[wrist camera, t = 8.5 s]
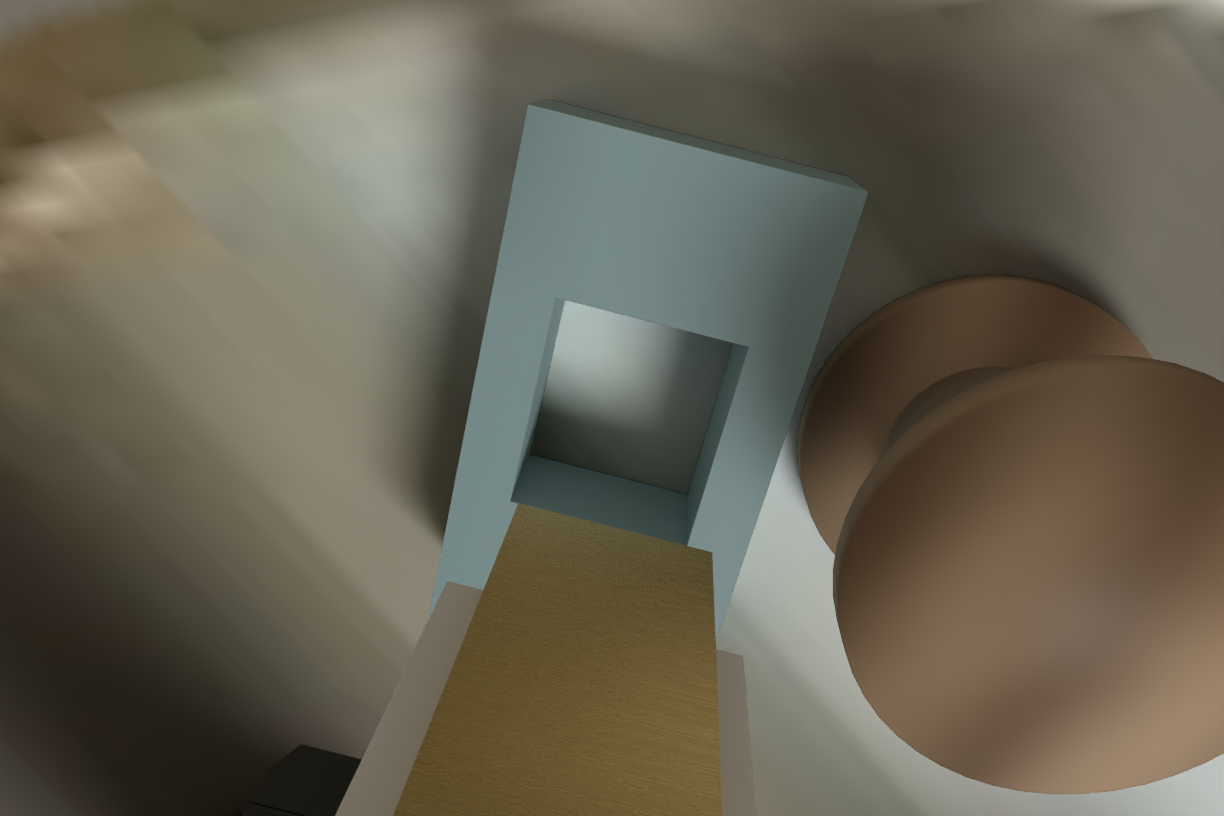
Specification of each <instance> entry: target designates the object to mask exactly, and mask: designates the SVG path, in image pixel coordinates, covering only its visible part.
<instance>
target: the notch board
mask: <svg viewBox="0 0 1224 816" xmlns="http://www.w3.org/2000/svg"><path fill="white" fill-rule="evenodd" d="M868 193H869V192H868V191H867V190H865V189H864V188H862V187H861V186H860V185H858V184H857V183H855V182H854V181H853V180H851V179H850V178H848V177H847V176H843V175H840V174H836V173H832V172H828V171H824V170H820V169H816V168H812V167H808V166H805V165H801V164H797V163H793V162H789V161H785V160H781V159H777V158H774V157H770V156H766V155H762V154H758V153H754V152H750V151H746V150H743V149H739V148H735V147H731V146H727V145H723V144H719V143H715V142H712V141H708V140H704V139H700V138H696V137H692V136H688V135H684V134H681V133H677V132H673V131H669V130H665V129H661V128H657V127H653V126H650V125H646V124H642V123H638V122H634V121H630V120H626V119H622V118H619V117H615V116H611V115H607V114H603V113H599V112H595V111H591V110H587V109H584V108H580V107H576V106H572V105H568V104H564V103H560V102H556V101H553V100H549V99H548V100H544V101H540V102H536V103H531V104H528V107H527V112H526V117H525V123H524V128H523V133H522V138H521V143H520V148H519V153H518V159H517V164H516V169H515V174H514V179H513V184H512V190H511V195H510V200H509V205H508V210H507V215H506V221H505V226H504V231H503V236H502V241H501V246H500V251H499V257H498V262H497V267H496V272H495V277H494V282H493V288H492V293H491V298H490V303H489V308H488V313H487V319H486V324H485V329H484V334H483V339H482V344H481V349H480V355H479V360H478V365H477V370H476V375H475V380H474V386H473V391H472V396H471V401H470V406H469V411H468V416H467V422H466V427H465V432H464V437H463V442H462V447H461V453H460V458H459V463H458V468H457V473H456V478H455V484H454V489H453V494H452V499H451V504H450V509H449V514H448V520H447V525H446V530H445V535H444V540H443V545H442V551H441V556H440V561H439V566H438V571H437V576H436V582H435V587H434V592H433V597H432V602H431V607H430V612H429V616H431V614H432V612H433V610H434V607H435V605H436V603H437V601H438V599H439V597H440V595H441V593H442V591H443V589H444V587H445V584H446V582H447V581H449V582H453V583H457V584H461V585H465V586H469V587H473V588H477V589H481V590H484V587H485V585H486V582H487V580H488V577H489V575H490V572H491V570H492V567H493V565H494V562H495V560H496V557H497V555H498V552H499V550H500V547H501V545H502V542H503V540H504V538H505V535H506V533H507V530H508V528H509V525H510V523H511V520H512V518H513V515H514V513H515V510H516V508H517V505H518V503H521V504H525V505H529V506H533V507H537V508H540V509H544V510H548V511H552V512H556V513H560V514H564V515H568V516H572V517H576V518H580V519H584V520H588V521H592V522H595V523H599V524H603V525H607V526H611V527H615V528H619V529H623V530H627V531H631V532H635V533H639V534H643V535H647V536H650V537H654V538H658V539H662V540H666V541H670V542H674V543H678V544H682V545H686V546H690V547H694V548H698V549H701V550H705V551H709V552H712V557H713V583H714V610H715V636H716V639H717V636H718V633H719V630H720V627H721V624H722V621H723V618H724V615H725V612H726V609H727V606H728V603H729V601H730V598H731V595H732V592H733V589H734V586H735V583H736V580H737V577H738V574H739V571H740V568H741V565H742V562H743V560H744V557H745V554H746V551H747V548H748V545H749V542H750V539H751V536H752V533H753V530H754V527H755V524H756V521H757V518H758V516H759V513H760V510H761V507H762V504H763V501H764V498H765V495H766V492H767V489H768V486H769V483H770V480H771V477H772V475H773V472H774V469H775V466H776V463H777V460H778V457H779V454H780V451H781V448H782V445H783V442H784V439H785V436H786V434H787V431H788V428H789V425H790V422H791V419H792V416H793V413H794V410H795V407H796V404H797V401H798V398H799V395H800V392H801V390H802V387H803V384H804V381H805V378H806V375H807V372H808V369H809V366H810V363H811V360H812V357H813V354H814V351H815V349H816V346H817V343H818V340H819V337H820V334H821V331H822V328H823V325H824V322H825V319H826V316H827V313H828V310H829V308H830V305H831V302H832V299H833V296H834V293H835V290H836V287H837V284H838V281H839V278H840V275H841V272H842V269H843V267H844V264H845V261H846V258H847V255H848V252H849V249H850V246H851V243H852V240H853V237H854V234H855V231H856V228H857V225H858V223H859V220H860V217H861V214H862V211H863V208H864V205H865V202H866V199H867V196H868ZM565 300H568V301H571V302H575V303H579V304H583V305H587V306H591V307H595V308H599V309H603V310H607V311H610V312H614V313H618V314H622V315H626V316H630V317H634V318H638V319H642V320H646V321H649V322H653V323H657V324H661V325H665V326H669V327H673V328H677V329H681V330H685V331H689V332H692V333H696V334H700V335H704V336H708V337H712V338H716V339H720V340H724V341H728V342H731V343H734V344H733V347H732V351H731V354H730V357H729V360H728V364H727V367H726V370H725V374H724V377H723V380H722V383H721V387H720V390H719V393H718V397H717V400H716V403H715V406H714V410H713V413H712V416H711V420H710V423H709V426H708V429H707V433H706V436H705V439H704V443H703V446H702V449H701V452H700V456H699V459H698V462H697V466H696V469H695V472H694V475H693V479H692V482H691V485H690V489H689V492H688V495H686V494H682V493H678V492H674V491H670V490H666V489H663V488H659V487H655V486H651V485H647V484H643V483H639V482H635V481H631V480H627V479H623V478H619V477H616V476H612V475H608V474H604V473H600V472H596V471H592V470H588V469H584V468H580V467H576V466H572V465H568V464H565V463H561V462H557V461H553V460H549V459H545V458H541V457H537V456H533V455H530V452H531V447H532V443H533V438H534V434H535V430H536V425H537V421H538V416H539V412H540V407H541V403H542V399H543V394H544V390H545V385H546V381H547V376H548V372H549V368H550V363H551V359H552V354H553V350H554V346H555V341H556V337H557V332H558V328H559V323H560V319H561V315H562V310H563V306H564V301H565Z"/></svg>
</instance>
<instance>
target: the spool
mask: <svg viewBox="0 0 1224 816" xmlns="http://www.w3.org/2000/svg"><path fill="white" fill-rule="evenodd" d="M797 446H798V466H799V472H800V478H801V483H802V487H803V491H804V495H805V498H806V502H807V505H808V508H809V511H810V514H811V517H812V519H813V521H814V523H815V525H816V527H817V529H818V531H819V533H820V535H821V536H822V538H823V539H824V541H825V542H826V544H827V545H828V547H829V548H830V549H831V551H832V552H833V553H834V554H835V560H834V567H833V598H834V604H835V610H836V617H837V622H838V626H839V630H840V633H841V637H842V641H843V645H844V649H845V652H846V655H847V658H848V661H849V664H850V667H851V670H852V673H853V675H854V677H855V679H856V681H857V683H858V685H859V687H860V689H861V691H862V693H863V695H864V697H865V698H866V700H867V701H868V702H869V704H870V705H871V706H872V708H873V709H874V711H875V712H876V713H877V715H878V716H879V717H880V718H881V720H882V721H883V722H884V723H885V724H886V725H887V726H888V727H889V728H890V729H891V730H892V731H893V732H894V733H895V734H896V735H897V736H898V737H899V738H901V739H902V740H903V741H905V742H906V743H907V744H908V745H910V746H911V747H912V748H913V749H915V750H916V751H917V752H919V753H920V754H922V755H924V756H925V757H927V758H929V759H930V760H932V761H934V762H935V763H937V764H939V765H940V766H942V767H945V768H947V769H949V770H952V771H954V772H956V773H958V774H961V775H963V776H965V777H968V778H971V779H974V780H977V781H980V782H984V783H987V784H990V785H993V786H998V787H1003V788H1008V789H1013V790H1018V791H1024V792H1035V793H1046V794H1087V793H1097V792H1106V791H1115V790H1120V789H1125V788H1130V787H1135V786H1140V785H1145V784H1148V783H1151V782H1155V781H1158V780H1161V779H1164V778H1168V777H1171V776H1174V775H1177V774H1179V773H1182V772H1184V771H1187V770H1189V769H1192V768H1194V767H1196V766H1199V765H1201V764H1204V763H1206V762H1208V761H1210V760H1212V759H1213V758H1215V757H1217V756H1219V755H1221V754H1223V753H1224V382H1222V381H1220V380H1218V379H1216V378H1214V377H1212V376H1210V375H1207V374H1205V373H1202V372H1199V371H1196V370H1193V369H1190V368H1187V367H1184V366H1181V365H1178V364H1175V363H1170V362H1165V361H1160V360H1154V359H1152V357H1151V355H1150V354H1149V353H1148V351H1147V350H1146V349H1145V347H1144V346H1143V345H1142V344H1141V342H1140V341H1139V340H1138V338H1137V337H1136V336H1135V335H1134V334H1133V333H1132V332H1130V331H1129V330H1128V329H1127V328H1126V327H1125V326H1124V325H1123V324H1122V323H1121V322H1120V321H1118V320H1117V319H1115V318H1114V317H1113V316H1111V315H1110V314H1108V313H1107V312H1105V311H1104V310H1103V309H1101V308H1099V307H1098V306H1096V305H1094V304H1093V303H1091V302H1089V301H1088V300H1086V299H1084V298H1082V297H1080V296H1078V295H1076V294H1074V293H1072V292H1070V291H1068V290H1066V289H1064V288H1062V287H1059V286H1056V285H1052V284H1049V283H1046V282H1043V281H1040V280H1035V279H1029V278H1024V277H1019V276H1005V275H982V276H967V277H962V278H957V279H952V280H947V281H942V282H939V283H936V284H933V285H930V286H926V287H923V288H920V289H918V290H915V291H913V292H911V293H909V294H907V295H904V296H902V297H900V298H898V299H896V300H894V301H893V302H891V303H889V304H888V305H886V306H884V307H883V308H881V309H879V310H878V311H876V312H875V313H873V314H872V315H871V316H870V317H868V318H867V319H866V320H864V321H863V322H862V323H861V324H859V325H858V326H857V327H856V328H855V329H854V330H853V331H852V332H851V333H850V334H849V335H848V336H847V337H846V338H845V339H844V340H843V341H842V342H841V343H840V344H839V345H838V346H837V348H836V349H835V350H834V351H833V353H832V354H831V355H830V357H829V358H828V359H827V360H826V362H825V363H824V365H823V367H822V368H821V370H820V372H819V374H818V375H817V377H816V379H815V380H814V382H813V385H812V387H811V389H810V392H809V394H808V397H807V399H806V401H805V405H804V409H803V412H802V416H801V420H800V425H799V433H798V442H797Z"/></svg>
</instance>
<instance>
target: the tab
mask: <svg viewBox="0 0 1224 816" xmlns="http://www.w3.org/2000/svg"><path fill="white" fill-rule="evenodd" d="M393 816H722V794H721V768H720V742H719V715H718V689H717V662H716V636H715V610H714V583H713V557H712V552H709V551H705V550H701V549H698V548H694V547H690V546H686V545H682V544H678V543H674V542H670V541H666V540H662V539H658V538H654V537H650V536H647V535H643V534H639V533H635V532H631V531H627V530H623V529H619V528H615V527H611V526H607V525H603V524H599V523H595V522H592V521H588V520H584V519H580V518H576V517H572V516H568V515H564V514H560V513H556V512H552V511H548V510H544V509H540V508H537V507H533V506H529V505H525V504H521V503H518V505H517V508H516V510H515V513H514V515H513V518H512V520H511V523H510V525H509V528H508V530H507V533H506V535H505V538H504V540H503V542H502V545H501V547H500V550H499V552H498V555H497V557H496V560H495V562H494V565H493V567H492V570H491V572H490V575H489V577H488V580H487V582H486V585H485V587H484V590H483V592H482V595H481V597H480V600H479V602H478V605H477V607H476V610H475V612H474V615H473V617H472V620H471V622H470V625H469V627H468V630H467V632H466V635H465V637H464V640H463V642H462V645H461V647H460V650H459V652H458V655H457V657H456V660H455V662H454V665H453V667H452V670H451V672H450V675H449V677H448V680H447V682H446V685H445V687H444V690H443V692H442V695H441V697H440V700H439V702H438V705H437V707H436V710H435V712H434V715H433V717H432V720H431V722H430V725H429V727H428V730H427V732H426V734H425V737H424V739H423V742H422V744H421V747H420V749H419V752H418V754H417V757H416V759H415V762H414V764H413V767H412V769H411V772H410V774H409V777H408V779H407V782H406V784H405V787H404V789H403V792H402V794H401V797H400V799H399V802H398V804H397V807H396V809H395V812H394V814H393Z"/></svg>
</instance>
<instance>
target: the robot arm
mask: <svg viewBox="0 0 1224 816" xmlns="http://www.w3.org/2000/svg"><path fill="white" fill-rule="evenodd" d="M482 592H483V590H481V589H477V588H473V587H469V586H465V585H461V584H457V583H453V582H449V581H447V582H446V584H445V587H444V589H443V591H442V593H441V595H440V597H439V599H438V601H437V603H436V605H435V607H434V610H433V612H432V614H431V616H430V618H429V620H428V622H427V624H426V626H425V628H424V630H423V633H422V635H421V637H420V639H419V641H418V643H417V645H416V647H415V649H414V651H413V654H412V656H411V658H410V660H409V662H408V664H407V666H406V668H405V670H404V672H403V674H402V677H401V679H400V681H399V683H398V685H397V687H396V689H395V691H394V693H393V695H392V698H391V700H390V702H389V704H388V706H387V708H386V710H385V712H384V714H383V716H382V718H381V721H380V723H379V725H378V727H377V729H376V731H375V733H374V735H373V737H372V739H371V741H370V744H369V746H368V748H367V750H366V752H365V754H364V756H363V758H362V760H361V759H357V758H353V757H349V756H346V755H342V754H338V753H334V752H330V751H326V750H322V749H318V748H314V747H310V746H306V745H302V744H301V745H300V746H298V747H297V748H296V749H294V750H293V751H292V752H290V753H289V754H288V755H286V756H285V757H284V758H283V759H281V760H280V761H279V762H277V763H276V764H275V765H273V766H272V767H271V768H269V770H268V772H267V773H266V775H265V777H264V778H263V780H262V782H261V783H260V785H259V787H258V788H257V790H256V792H255V793H254V795H253V796H252V798H251V800H250V802H249V805H248V807H247V808H245V810H244V811H243V813H242V815H241V816H393V814H394V812H395V809H396V807H397V804H398V802H399V799H400V797H401V794H402V792H403V789H404V787H405V784H406V782H407V779H408V777H409V774H410V772H411V769H412V767H413V764H414V762H415V759H416V757H417V754H418V752H419V749H420V747H421V744H422V742H423V739H424V737H425V734H426V732H427V730H428V727H429V725H430V722H431V720H432V717H433V715H434V712H435V710H436V707H437V705H438V702H439V700H440V697H441V695H442V692H443V690H444V687H445V685H446V682H447V680H448V677H449V675H450V672H451V670H452V667H453V665H454V662H455V660H456V657H457V655H458V652H459V650H460V647H461V645H462V642H463V640H464V637H465V635H466V632H467V630H468V627H469V625H470V622H471V620H472V617H473V615H474V612H475V610H476V607H477V605H478V602H479V600H480V597H481V595H482ZM716 662H717V689H718V715H719V742H720V768H721V794H722V816H756V810H755V798H754V786H753V774H752V762H751V749H750V737H749V725H748V713H747V701H746V689H745V676H744V664H743V656H741V655H737V654H733V653H729V652H725V651H721V650H717V649H716Z"/></svg>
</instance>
